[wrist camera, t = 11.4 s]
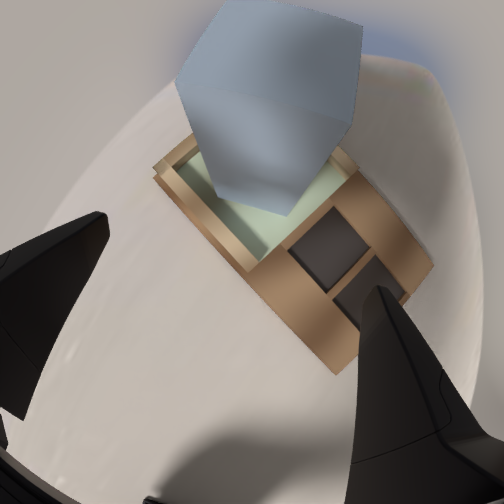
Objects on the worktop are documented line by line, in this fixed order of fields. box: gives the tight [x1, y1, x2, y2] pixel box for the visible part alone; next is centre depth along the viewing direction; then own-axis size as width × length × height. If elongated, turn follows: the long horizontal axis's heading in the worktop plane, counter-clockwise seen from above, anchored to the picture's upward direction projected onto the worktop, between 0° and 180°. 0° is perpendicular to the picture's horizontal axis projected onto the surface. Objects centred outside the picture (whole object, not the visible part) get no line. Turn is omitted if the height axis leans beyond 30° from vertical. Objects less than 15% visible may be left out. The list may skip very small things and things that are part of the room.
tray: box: [152, 133, 434, 375], centre depth 19 cm, size 20×12×2 cm, turn 43°
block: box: [174, 0, 363, 217], centre depth 13 cm, size 5×5×13 cm
